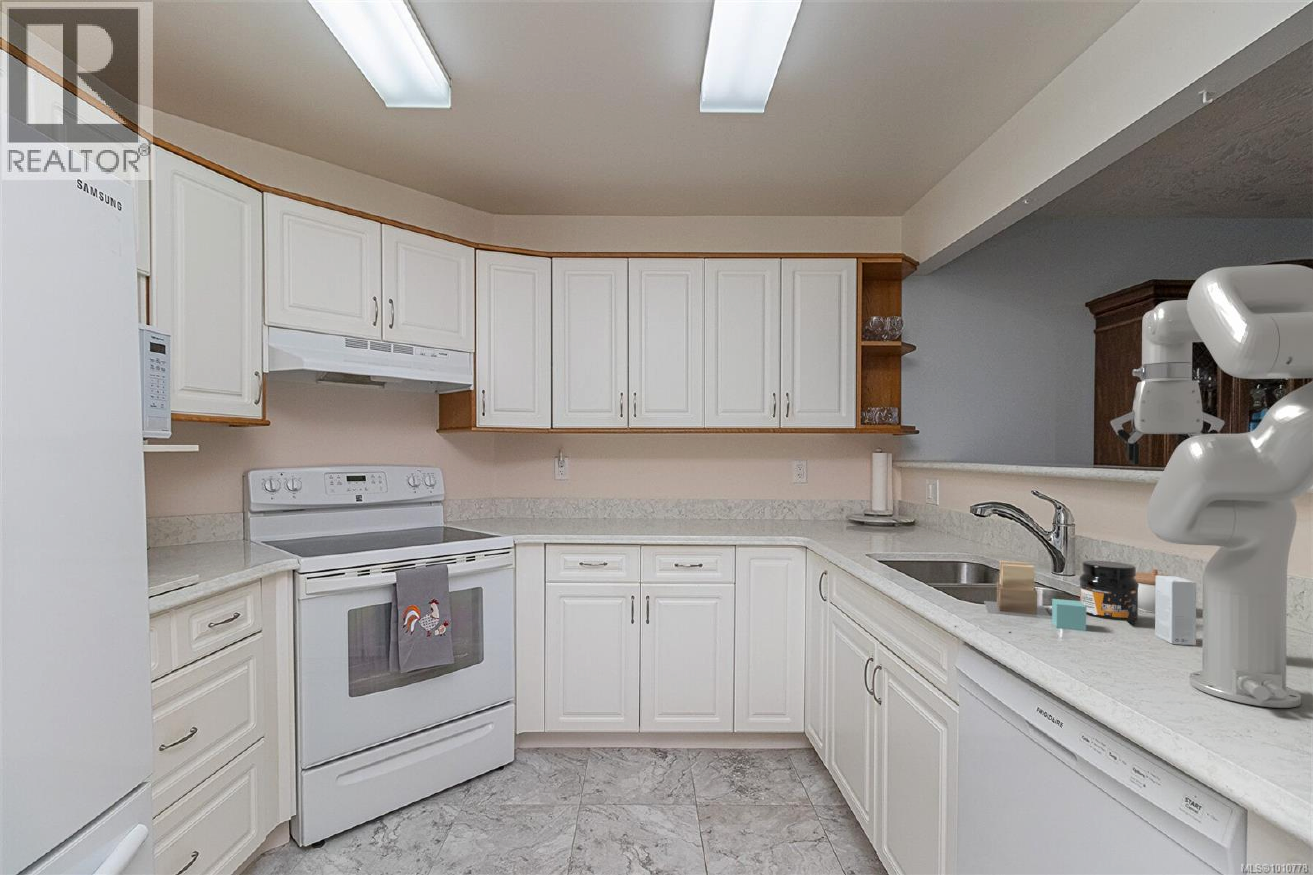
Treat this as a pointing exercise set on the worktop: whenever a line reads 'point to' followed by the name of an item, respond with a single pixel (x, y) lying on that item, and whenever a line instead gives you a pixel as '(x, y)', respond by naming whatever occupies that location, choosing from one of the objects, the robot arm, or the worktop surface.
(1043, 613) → the slate board
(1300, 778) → the worktop surface
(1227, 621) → the robot arm
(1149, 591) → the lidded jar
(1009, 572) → the oak mid block
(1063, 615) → the teal block
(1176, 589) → the skincare box
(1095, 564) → the supplement container
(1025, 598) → the walnut base block
